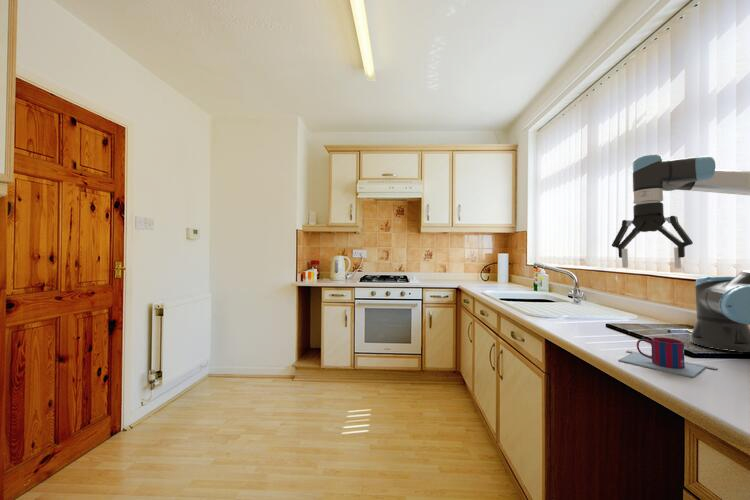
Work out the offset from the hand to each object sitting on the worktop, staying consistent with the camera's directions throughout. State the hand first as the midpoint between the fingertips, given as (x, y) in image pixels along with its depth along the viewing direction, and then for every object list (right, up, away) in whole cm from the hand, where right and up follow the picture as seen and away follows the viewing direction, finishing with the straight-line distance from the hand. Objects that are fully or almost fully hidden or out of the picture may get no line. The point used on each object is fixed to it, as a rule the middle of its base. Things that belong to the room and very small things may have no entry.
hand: (650, 268), depth 105 cm
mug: (-9, -27, -14) cm, 31 cm away
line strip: (-4, -27, -10) cm, 29 cm away
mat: (-10, -27, -14) cm, 32 cm away
